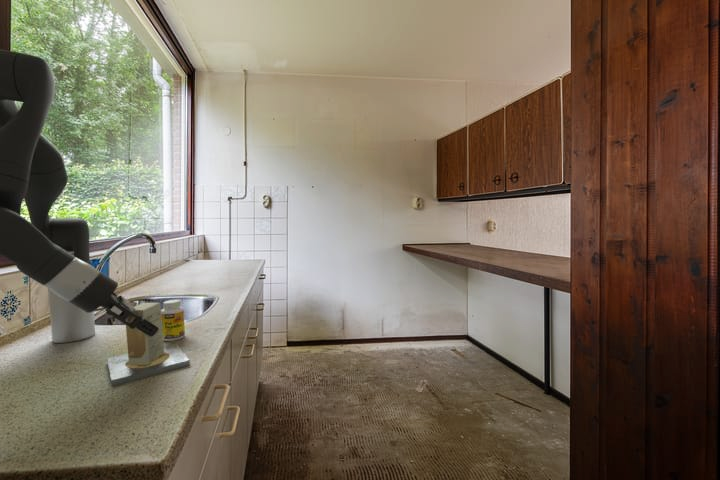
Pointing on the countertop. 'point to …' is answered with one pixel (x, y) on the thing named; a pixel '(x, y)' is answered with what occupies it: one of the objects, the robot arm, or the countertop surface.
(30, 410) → the countertop surface
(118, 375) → the grey square plate
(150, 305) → the skincare box
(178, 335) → the supplement bottle
